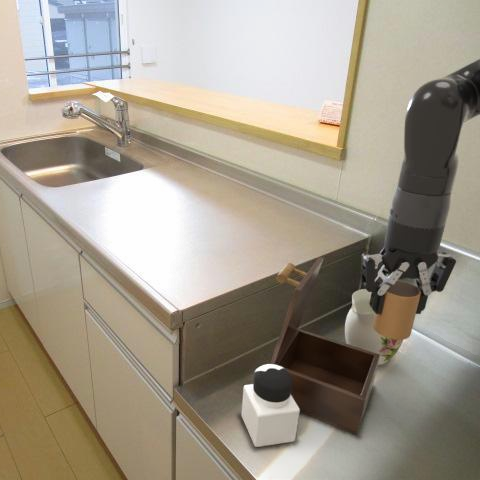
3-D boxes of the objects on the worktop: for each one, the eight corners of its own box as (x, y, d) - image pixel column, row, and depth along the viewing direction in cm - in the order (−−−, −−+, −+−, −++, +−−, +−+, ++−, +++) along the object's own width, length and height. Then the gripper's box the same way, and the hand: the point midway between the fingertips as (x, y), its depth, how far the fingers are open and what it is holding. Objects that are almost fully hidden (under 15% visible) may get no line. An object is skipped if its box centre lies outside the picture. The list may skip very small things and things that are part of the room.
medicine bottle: (296, 442, 75) (304, 386, 70) (254, 448, 74) (260, 391, 69) (278, 410, 81) (285, 356, 76) (240, 415, 80) (245, 361, 75)
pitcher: (421, 352, 95) (436, 296, 89) (367, 385, 86) (380, 325, 81) (374, 327, 104) (386, 274, 98) (321, 354, 95) (330, 298, 89)
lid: (323, 258, 82) (296, 247, 84) (300, 290, 72) (270, 277, 74) (298, 326, 90) (274, 315, 93) (274, 365, 80) (247, 351, 82)
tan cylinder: (415, 341, 73) (426, 298, 70) (378, 338, 74) (387, 296, 71) (404, 321, 78) (413, 280, 75) (369, 318, 79) (377, 278, 76)
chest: (372, 387, 86) (380, 354, 83) (356, 435, 76) (364, 400, 72) (292, 358, 94) (296, 327, 91) (268, 399, 84) (271, 365, 80)
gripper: (379, 227, 65) (360, 324, 72) (481, 226, 64) (452, 324, 71) (359, 209, 72) (344, 299, 79) (451, 208, 71) (427, 299, 78)
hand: (395, 311), depth 75 cm, fingers closed on tan cylinder, 5 cm apart
